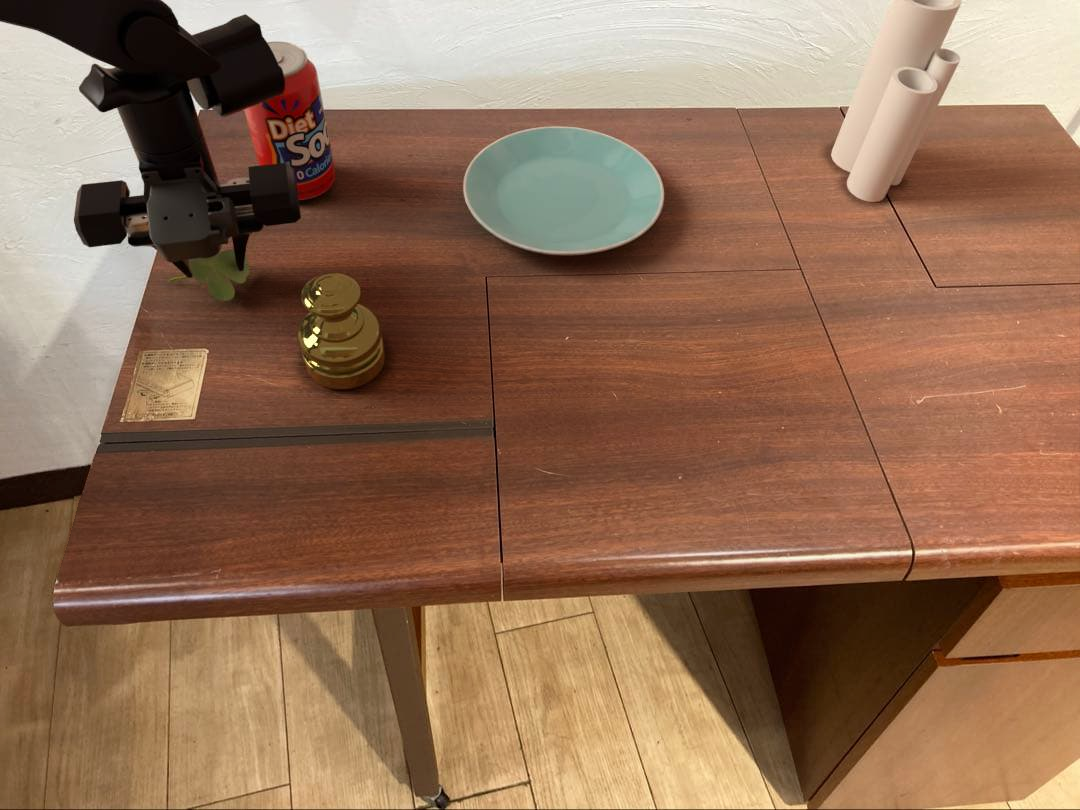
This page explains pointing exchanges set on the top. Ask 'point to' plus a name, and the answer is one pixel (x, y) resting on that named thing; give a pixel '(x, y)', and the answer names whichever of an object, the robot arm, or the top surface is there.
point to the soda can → (295, 124)
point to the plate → (563, 191)
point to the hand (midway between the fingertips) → (215, 271)
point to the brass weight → (339, 333)
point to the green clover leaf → (218, 273)
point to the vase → (896, 95)
